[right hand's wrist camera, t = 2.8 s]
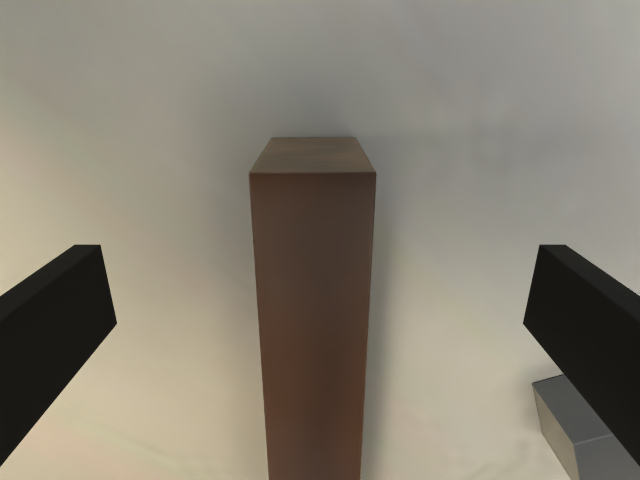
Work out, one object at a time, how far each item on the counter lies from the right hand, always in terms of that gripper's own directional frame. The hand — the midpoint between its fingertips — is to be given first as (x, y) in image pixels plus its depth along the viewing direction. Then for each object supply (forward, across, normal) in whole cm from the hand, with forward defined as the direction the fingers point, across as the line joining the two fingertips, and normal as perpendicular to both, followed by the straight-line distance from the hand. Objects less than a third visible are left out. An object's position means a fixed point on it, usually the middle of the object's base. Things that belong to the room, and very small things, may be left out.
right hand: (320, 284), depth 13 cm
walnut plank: (+11, 0, -10) cm, 15 cm away
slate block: (+12, +18, -15) cm, 26 cm away
